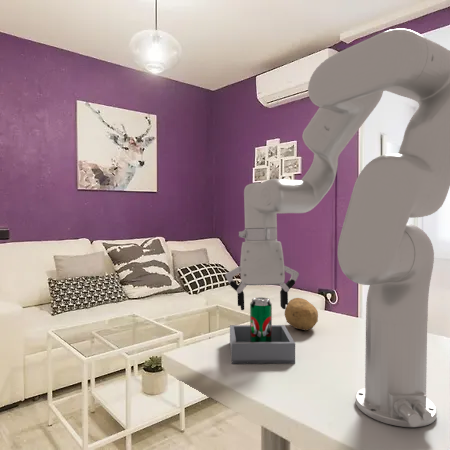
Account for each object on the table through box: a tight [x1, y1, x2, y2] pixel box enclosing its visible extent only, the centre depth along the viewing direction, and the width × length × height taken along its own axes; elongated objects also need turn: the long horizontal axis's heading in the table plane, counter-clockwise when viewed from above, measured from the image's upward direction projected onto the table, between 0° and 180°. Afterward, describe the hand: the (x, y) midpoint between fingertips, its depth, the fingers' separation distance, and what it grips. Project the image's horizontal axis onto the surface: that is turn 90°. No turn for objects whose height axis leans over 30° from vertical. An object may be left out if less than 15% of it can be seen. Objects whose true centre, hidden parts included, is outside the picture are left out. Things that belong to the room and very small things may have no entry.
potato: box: [284, 297, 319, 331], centre depth 112 cm, size 10×14×8 cm
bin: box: [229, 324, 296, 365], centre depth 93 cm, size 14×14×4 cm
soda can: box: [249, 296, 273, 342], centre depth 93 cm, size 5×5×12 cm
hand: (262, 308), depth 92 cm, fingers open, 9 cm apart
